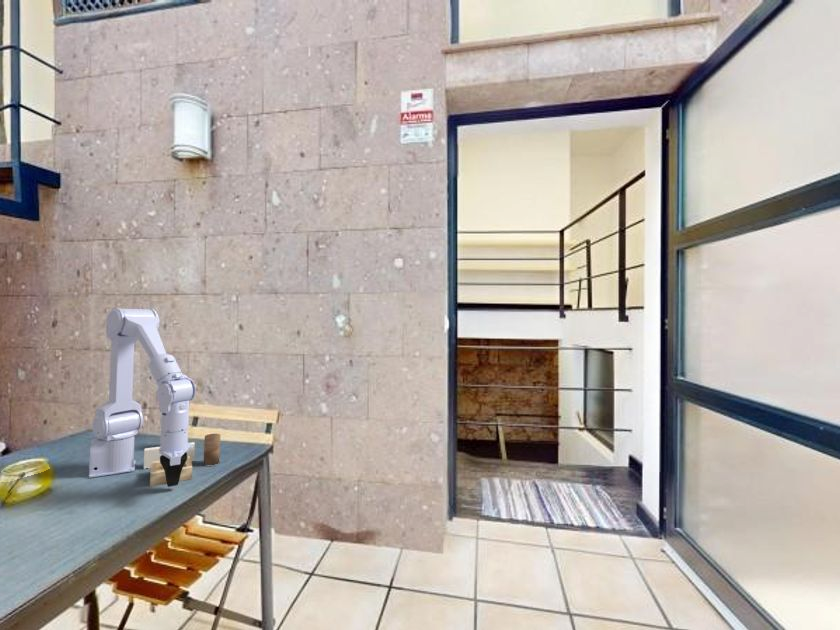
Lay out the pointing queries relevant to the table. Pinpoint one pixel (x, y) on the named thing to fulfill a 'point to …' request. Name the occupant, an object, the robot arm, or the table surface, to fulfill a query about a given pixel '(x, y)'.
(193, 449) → the wall
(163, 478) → the socket block
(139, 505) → the table surface
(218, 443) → the dowel
